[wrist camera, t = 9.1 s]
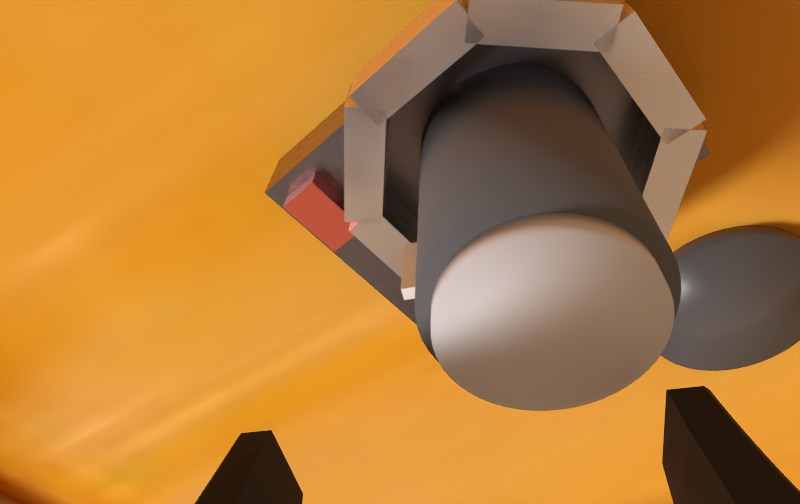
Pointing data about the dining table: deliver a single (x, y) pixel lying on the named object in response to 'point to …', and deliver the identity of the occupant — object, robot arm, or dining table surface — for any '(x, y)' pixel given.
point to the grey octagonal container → (439, 73)
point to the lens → (535, 247)
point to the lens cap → (736, 298)
